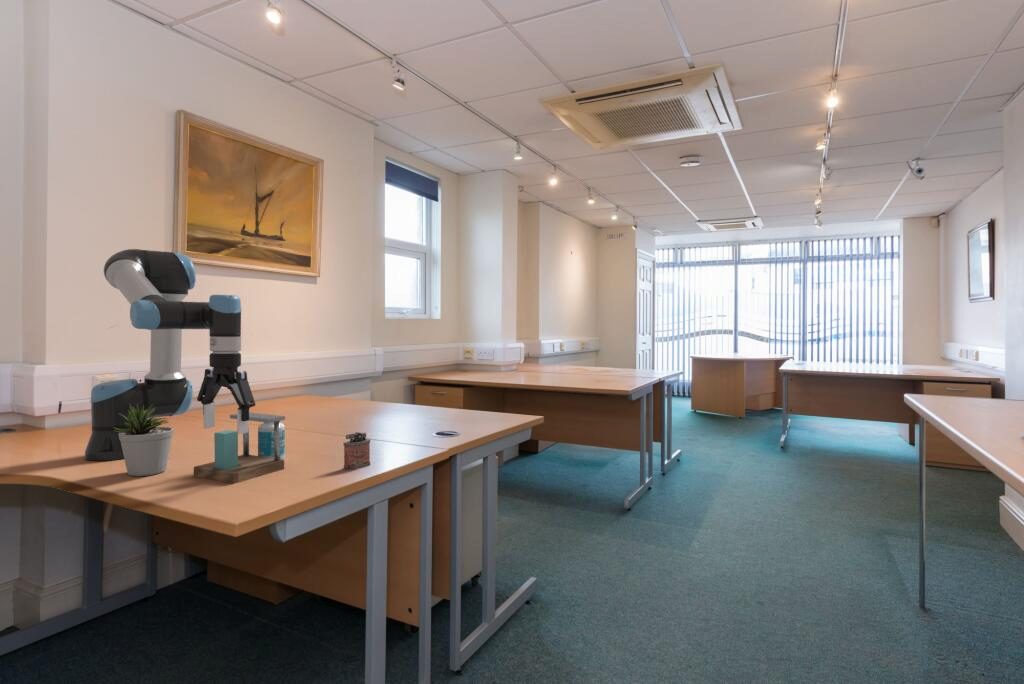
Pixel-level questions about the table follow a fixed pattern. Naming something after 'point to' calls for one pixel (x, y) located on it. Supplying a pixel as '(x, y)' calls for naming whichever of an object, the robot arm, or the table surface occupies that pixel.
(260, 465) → the socket plate
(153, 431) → the potted plant
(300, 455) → the table surface
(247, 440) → the grey metal bridge
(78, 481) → the table surface
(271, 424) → the pill bottle
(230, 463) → the peg
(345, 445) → the lighter
